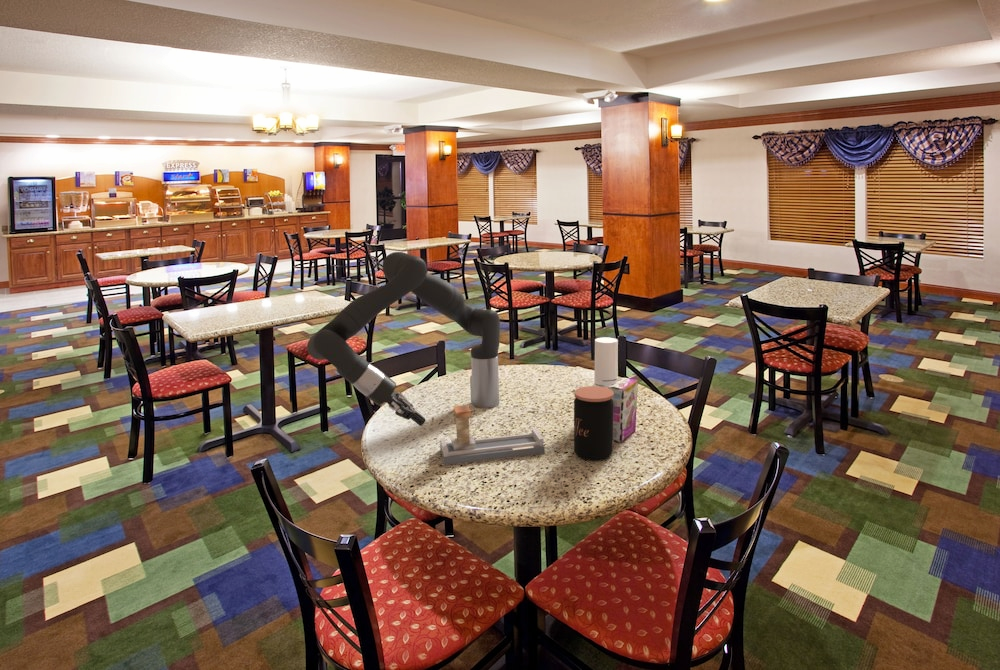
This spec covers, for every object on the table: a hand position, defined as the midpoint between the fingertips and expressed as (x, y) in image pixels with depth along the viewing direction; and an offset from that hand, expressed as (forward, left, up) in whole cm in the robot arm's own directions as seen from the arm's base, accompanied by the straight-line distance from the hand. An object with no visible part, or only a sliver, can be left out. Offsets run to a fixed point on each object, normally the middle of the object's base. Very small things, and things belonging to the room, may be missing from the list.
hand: (423, 422), depth 164 cm
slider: (+6, +9, -9) cm, 14 cm away
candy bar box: (+29, +51, -11) cm, 60 cm away
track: (+10, +16, -11) cm, 22 cm away
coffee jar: (+31, +35, -11) cm, 48 cm away
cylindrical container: (+15, +61, -11) cm, 64 cm away
